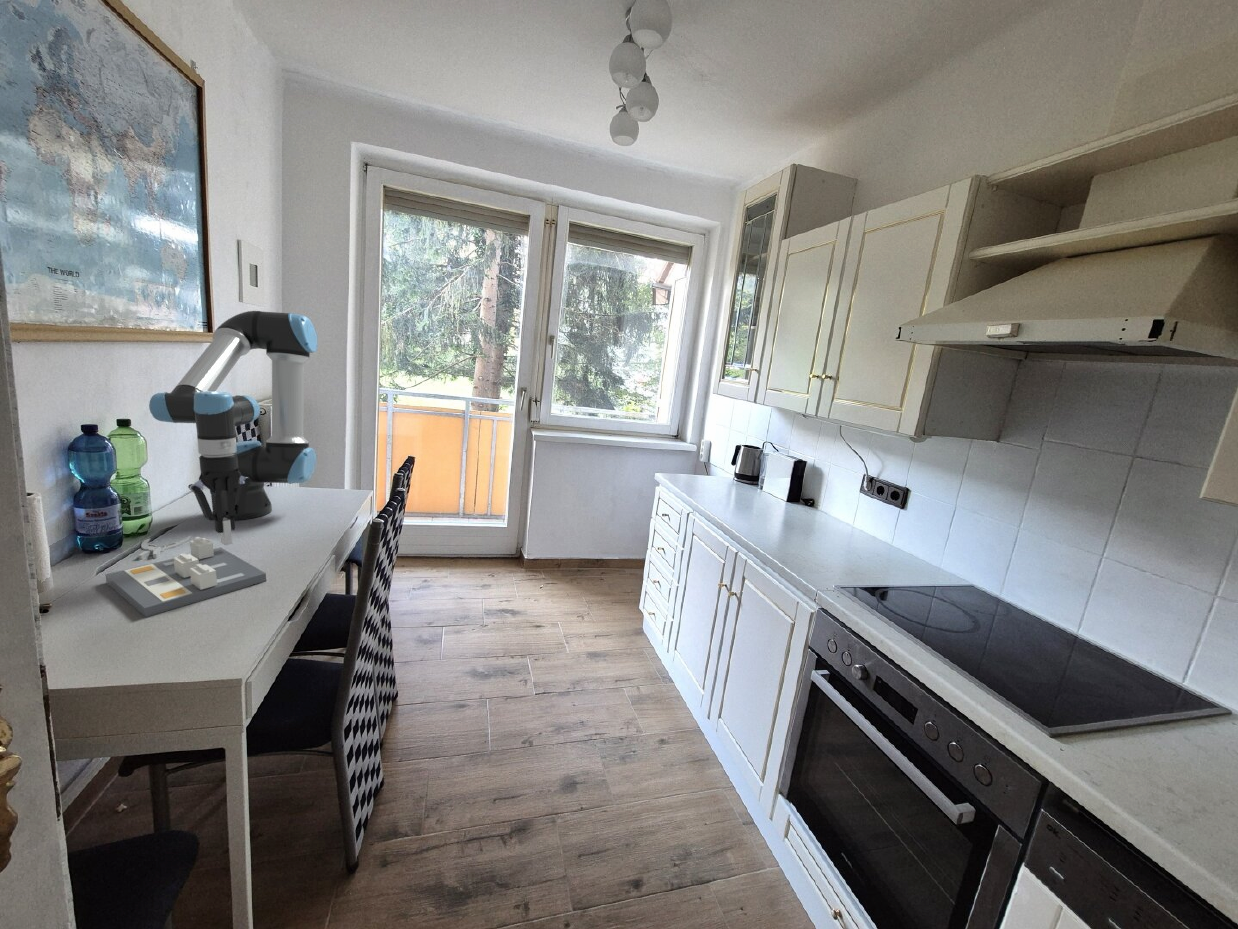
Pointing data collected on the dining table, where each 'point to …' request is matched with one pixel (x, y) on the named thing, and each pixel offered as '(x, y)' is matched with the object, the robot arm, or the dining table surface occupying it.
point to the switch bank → (181, 582)
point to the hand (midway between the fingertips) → (226, 543)
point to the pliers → (157, 548)
